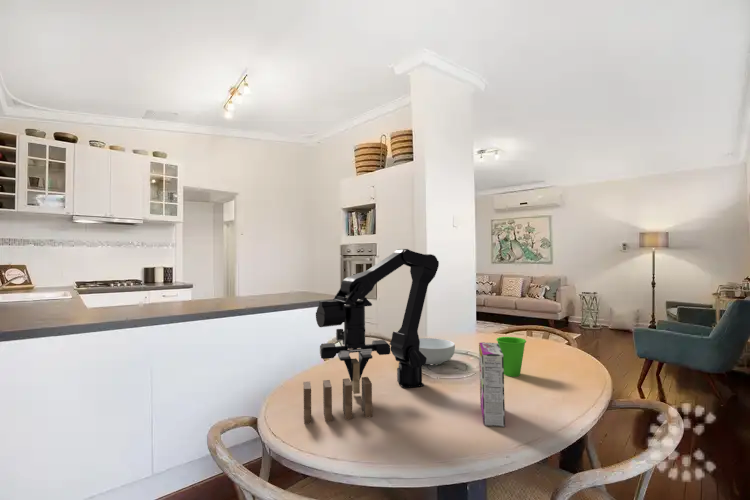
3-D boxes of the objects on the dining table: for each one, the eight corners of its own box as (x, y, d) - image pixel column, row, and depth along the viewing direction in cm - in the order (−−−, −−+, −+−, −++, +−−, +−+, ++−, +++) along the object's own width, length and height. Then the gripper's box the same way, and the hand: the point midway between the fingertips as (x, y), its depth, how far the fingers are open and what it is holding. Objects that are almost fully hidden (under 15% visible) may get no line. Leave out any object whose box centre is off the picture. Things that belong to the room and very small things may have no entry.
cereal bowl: (459, 369, 128) (459, 348, 128) (409, 369, 128) (409, 348, 128) (450, 355, 145) (450, 336, 145) (406, 355, 145) (406, 337, 145)
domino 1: (310, 414, 94) (310, 381, 94) (311, 423, 89) (311, 388, 89) (303, 414, 93) (303, 381, 93) (304, 423, 88) (304, 389, 89)
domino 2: (330, 412, 95) (329, 379, 95) (332, 420, 90) (331, 386, 90) (323, 412, 94) (323, 380, 94) (325, 421, 89) (324, 387, 90)
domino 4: (356, 387, 107) (356, 358, 107) (359, 393, 102) (359, 363, 102) (351, 387, 107) (350, 358, 107) (353, 394, 102) (353, 363, 102)
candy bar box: (479, 406, 97) (478, 341, 97) (499, 408, 96) (498, 342, 96) (482, 426, 86) (481, 353, 86) (505, 428, 85) (504, 354, 85)
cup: (495, 377, 120) (495, 341, 120) (497, 368, 128) (497, 335, 128) (526, 380, 116) (526, 344, 116) (526, 371, 125) (526, 337, 125)
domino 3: (349, 410, 96) (349, 378, 96) (352, 418, 91) (352, 385, 91) (342, 411, 95) (342, 378, 95) (345, 419, 90) (345, 385, 91)
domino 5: (368, 408, 97) (367, 376, 97) (372, 416, 92) (371, 383, 92) (361, 409, 96) (361, 377, 96) (365, 417, 92) (365, 383, 92)
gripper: (381, 316, 115) (381, 369, 114) (318, 319, 111) (318, 374, 111) (390, 323, 104) (391, 381, 104) (321, 327, 100) (321, 387, 100)
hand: (355, 380), depth 105 cm, fingers closed on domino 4, 2 cm apart
